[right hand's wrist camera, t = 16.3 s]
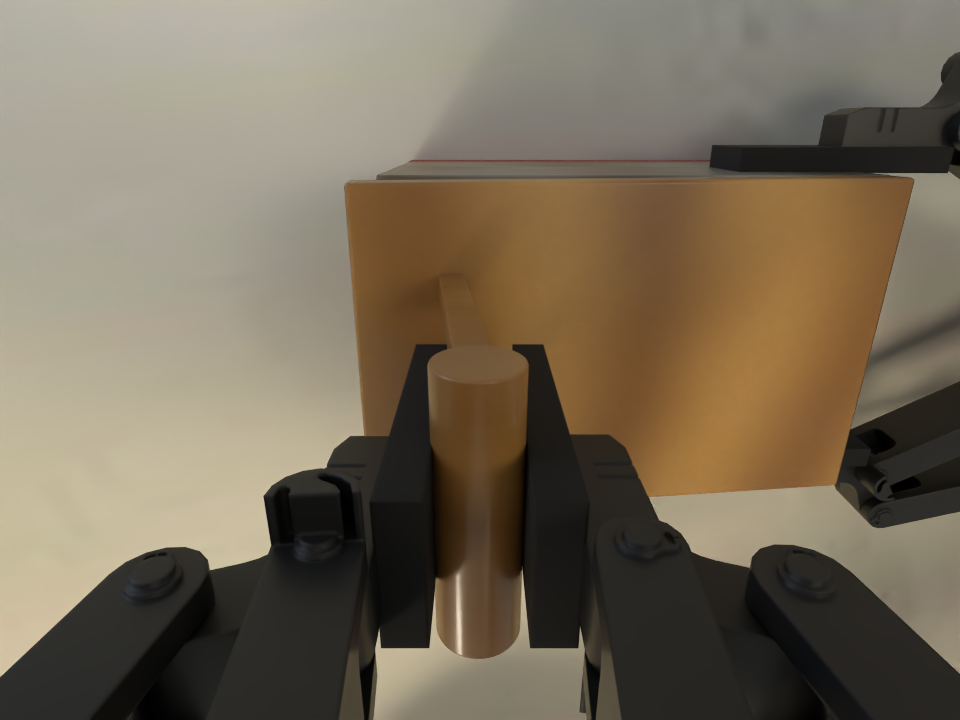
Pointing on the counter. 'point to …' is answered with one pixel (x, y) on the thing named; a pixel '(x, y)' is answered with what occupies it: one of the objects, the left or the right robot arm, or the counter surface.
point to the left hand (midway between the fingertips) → (702, 311)
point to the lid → (615, 339)
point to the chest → (576, 170)
